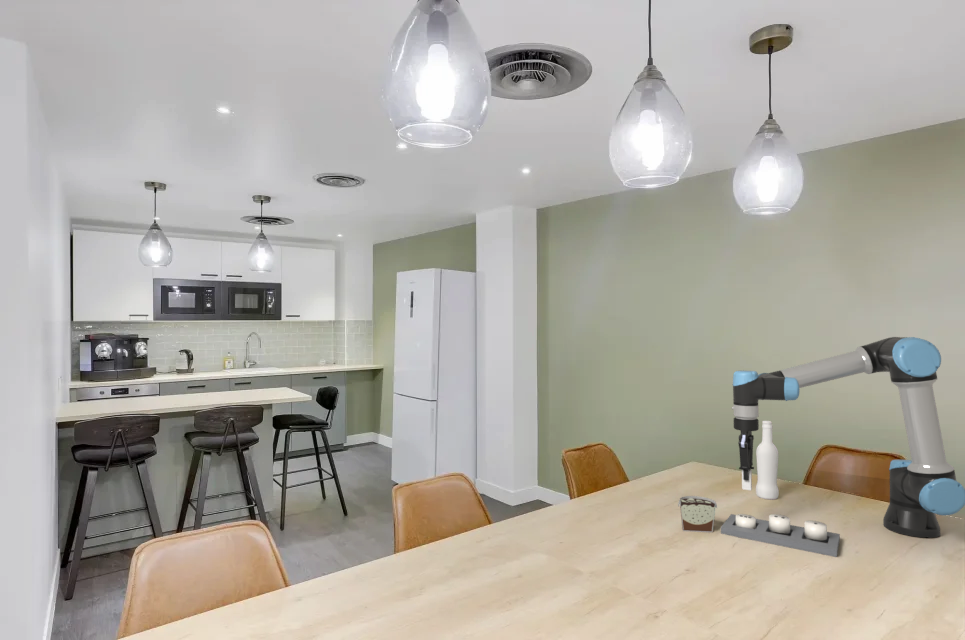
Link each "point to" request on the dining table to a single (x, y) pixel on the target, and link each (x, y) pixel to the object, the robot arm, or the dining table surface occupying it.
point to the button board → (782, 537)
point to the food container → (697, 513)
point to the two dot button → (779, 523)
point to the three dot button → (746, 521)
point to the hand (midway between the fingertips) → (746, 489)
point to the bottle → (767, 464)
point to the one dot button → (815, 530)
